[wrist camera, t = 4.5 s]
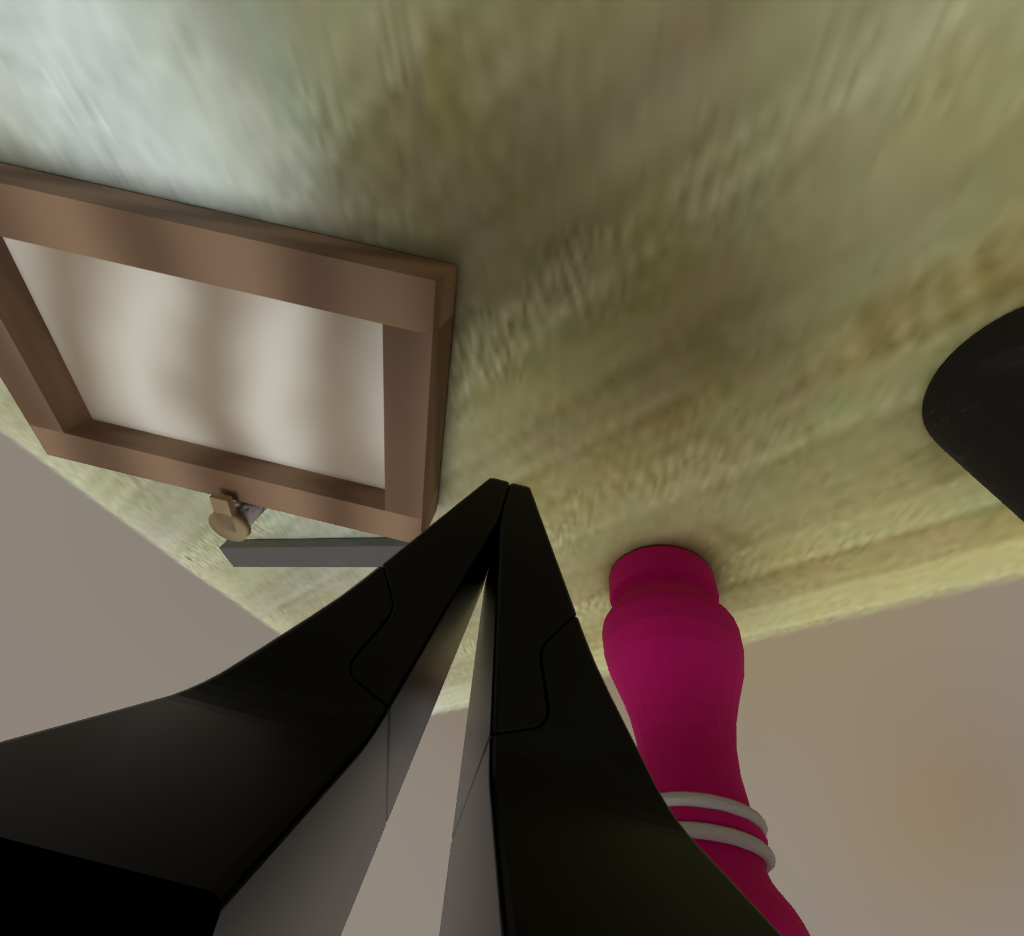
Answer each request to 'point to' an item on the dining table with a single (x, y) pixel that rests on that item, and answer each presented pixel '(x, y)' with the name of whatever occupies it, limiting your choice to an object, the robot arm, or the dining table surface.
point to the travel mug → (984, 408)
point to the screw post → (249, 511)
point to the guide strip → (312, 552)
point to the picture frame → (225, 354)
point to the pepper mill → (690, 710)
